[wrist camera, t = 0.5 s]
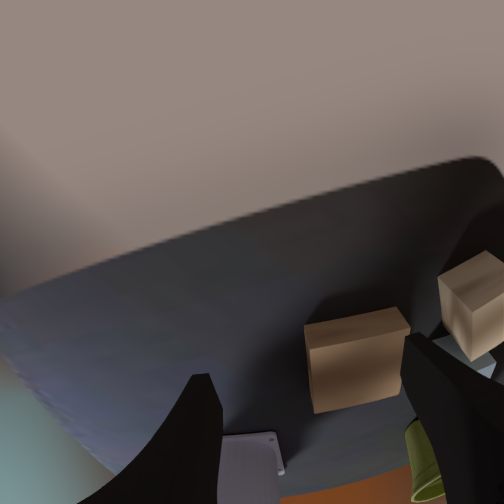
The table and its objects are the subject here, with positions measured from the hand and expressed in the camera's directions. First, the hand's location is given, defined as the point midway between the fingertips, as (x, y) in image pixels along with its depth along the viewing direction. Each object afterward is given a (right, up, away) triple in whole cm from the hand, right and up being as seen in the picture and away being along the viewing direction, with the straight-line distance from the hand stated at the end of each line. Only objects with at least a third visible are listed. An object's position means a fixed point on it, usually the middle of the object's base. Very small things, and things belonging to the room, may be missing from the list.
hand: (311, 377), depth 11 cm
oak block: (+6, -3, +13) cm, 14 cm away
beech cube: (+15, +2, +10) cm, 18 cm away
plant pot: (+18, -15, +18) cm, 29 cm away
